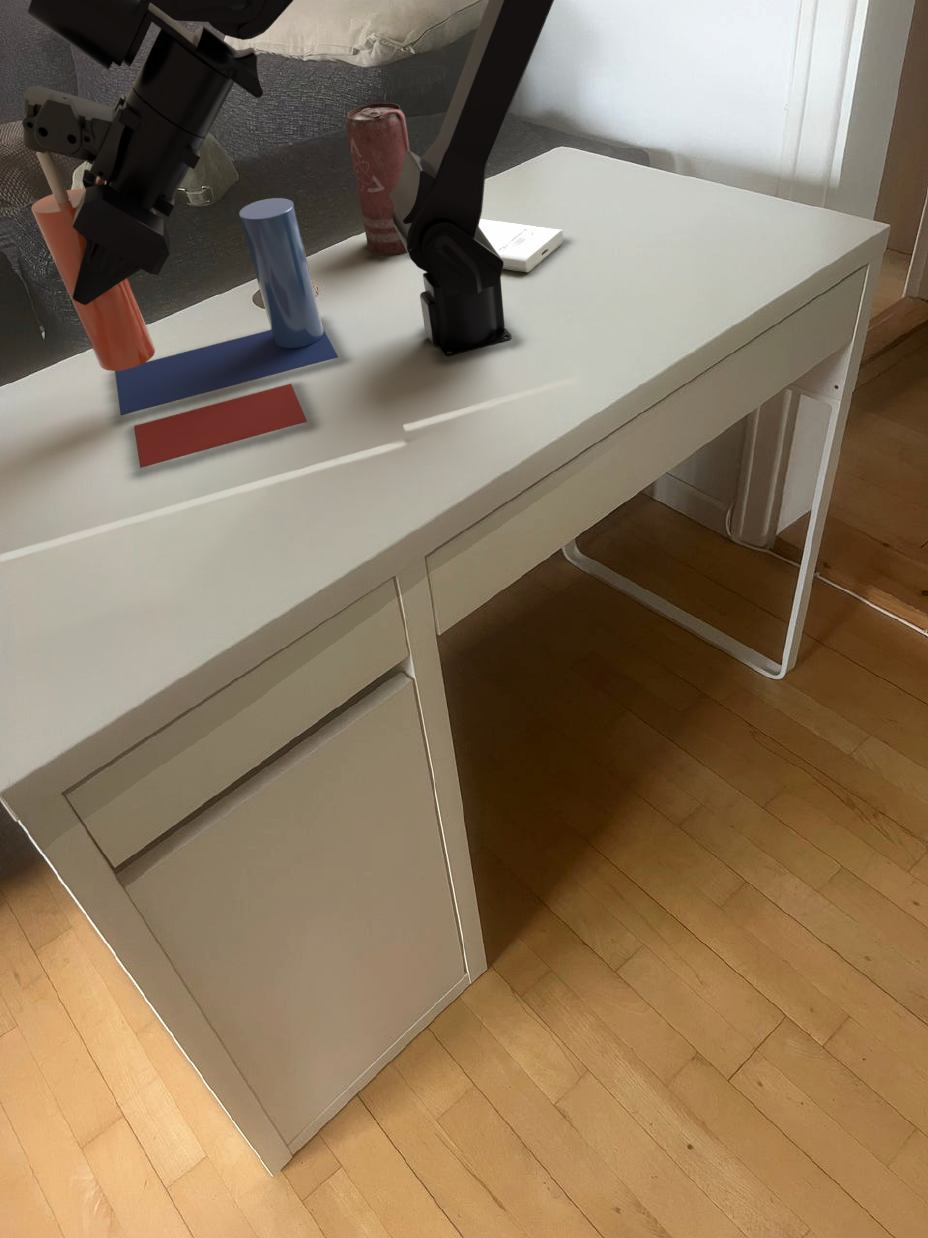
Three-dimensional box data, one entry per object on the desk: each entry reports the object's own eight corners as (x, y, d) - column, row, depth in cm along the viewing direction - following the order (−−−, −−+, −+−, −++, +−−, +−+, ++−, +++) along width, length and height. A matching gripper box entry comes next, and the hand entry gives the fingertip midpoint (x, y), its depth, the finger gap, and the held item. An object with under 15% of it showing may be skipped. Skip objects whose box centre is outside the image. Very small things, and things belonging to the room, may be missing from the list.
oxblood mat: (292, 388, 81) (290, 383, 80) (308, 425, 76) (307, 420, 75) (136, 430, 78) (134, 425, 78) (142, 472, 73) (140, 467, 73)
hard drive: (465, 229, 102) (563, 242, 97) (426, 259, 98) (526, 274, 92) (464, 214, 101) (563, 226, 96) (424, 244, 96) (525, 258, 91)
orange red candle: (149, 337, 80) (71, 135, 68) (160, 359, 76) (79, 150, 65) (95, 353, 78) (7, 151, 67) (103, 376, 75) (12, 167, 64)
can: (418, 258, 98) (397, 117, 88) (362, 260, 99) (336, 121, 89) (430, 235, 102) (412, 98, 92) (377, 237, 103) (353, 102, 94)
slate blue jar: (317, 320, 89) (287, 193, 80) (328, 340, 85) (298, 210, 77) (270, 332, 88) (235, 205, 80) (279, 353, 85) (243, 223, 76)
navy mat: (318, 322, 89) (317, 317, 89) (339, 361, 83) (338, 356, 83) (116, 374, 86) (114, 369, 86) (122, 419, 80) (120, 414, 80)
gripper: (69, 11, 68) (-9, 192, 75) (45, 66, 55) (-47, 280, 62) (204, 106, 74) (122, 265, 81) (213, 176, 61) (113, 359, 68)
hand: (80, 288), depth 73 cm, fingers closed on orange red candle, 5 cm apart
